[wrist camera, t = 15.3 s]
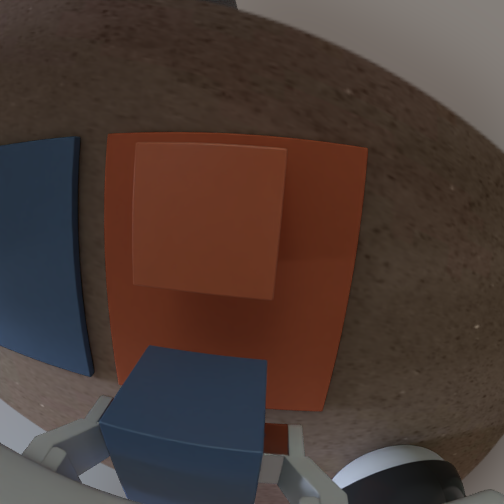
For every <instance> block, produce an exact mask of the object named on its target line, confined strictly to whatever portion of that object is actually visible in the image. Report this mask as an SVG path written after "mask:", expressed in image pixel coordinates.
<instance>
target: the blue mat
mask: <svg viewBox="0 0 504 504" xmlns="http://www.w3.org/2000/svg"><path fill="white" fill-rule="evenodd" d="M79 150H80V137H76V136H72V137H62V138H52V139H44V140H36V141H28V142H21V143H15V144H8V145H2V146H0V346H3V347H5V348H8V349H10V350H13V351H15V352H18V353H20V354H23V355H25V356H28V357H31V358H33V359H36V360H39V361H42V362H45V363H47V364H50V365H53V366H56V367H59V368H62V369H66V370H69V371H72V372H75V373H78V374H82V375H85V376H89V377H91V376H92V375H93V374H94V368H93V363H92V357H91V352H90V346H89V340H88V334H87V327H86V320H85V313H84V305H83V296H82V286H81V275H80V262H79V244H78V167H79Z"/></svg>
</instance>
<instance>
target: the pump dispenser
mask: <svg viewBox="0 0 504 504" xmlns="http://www.w3.org/2000/svg"><path fill="white" fill-rule="evenodd" d="M332 480H333V481H334V482H335V483H336V484H337V485H338V486H339V487H340V488H341V489H342V490H343V491H344V492H345V493H346V494H347V498H348V504H443V503H446V502H450V501H453V500H457V499H460V498H463V497H466V495H465V491H464V487H463V484H462V481H461V478H460V476H459V474H458V472H457V470H456V468H455V467H454V465H452V464H451V463H449V462H447V461H445V460H444V459H443V458H441V457H440V456H439V455H438V454H436V453H435V452H433V451H431V450H429V449H426V448H423V447H420V446H414V445H396V446H389V447H385V448H381V449H378V450H375V451H372V452H370V453H367V454H365V455H363V456H361V457H359V458H357V459H356V460H354V461H352V462H351V463H349V464H348V465H347V466H345V467H344V468H343V469H342V470H341V471H340V472H339V473H338V474H337V475H336V476H335V477H334V478H333V479H332Z"/></svg>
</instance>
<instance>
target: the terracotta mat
mask: <svg viewBox="0 0 504 504" xmlns="http://www.w3.org/2000/svg"><path fill="white" fill-rule="evenodd" d="M138 142H191V143H219V144H237V145H252V146H265V147H277V148H286V149H287V150H288V154H287V166H286V177H285V188H284V199H283V210H282V221H281V231H280V241H279V251H278V260H277V270H276V279H275V289H274V298H273V300H272V301H269V300H258V299H248V298H238V297H229V296H219V295H210V294H202V293H193V292H185V291H177V290H169V289H161V288H153V287H146V286H138V285H134V284H133V260H132V212H133V182H134V163H135V149H136V143H138ZM367 156H368V149H367V148H363V147H357V146H351V145H344V144H337V143H330V142H322V141H314V140H305V139H296V138H286V137H275V136H262V135H248V134H231V133H205V132H139V133H114V134H108V137H107V150H106V167H105V194H104V239H105V266H106V283H107V296H108V307H109V318H110V327H111V335H112V343H113V350H114V357H115V364H116V370H117V376H118V382H119V385H123V384H124V382H125V381H126V379H127V378H128V376H129V374H130V373H131V371H132V370H133V368H134V367H135V365H136V364H137V362H138V361H139V359H140V358H141V356H142V355H143V353H144V352H145V350H146V349H147V347H148V346H149V345H152V346H158V347H164V348H171V349H177V350H184V351H191V352H198V353H205V354H213V355H222V356H230V357H240V358H250V359H261V360H267V385H266V407H265V408H266V409H280V410H297V411H322V410H323V407H324V403H325V400H326V396H327V392H328V388H329V384H330V381H331V377H332V373H333V368H334V364H335V360H336V356H337V352H338V347H339V343H340V338H341V334H342V329H343V324H344V319H345V314H346V309H347V304H348V299H349V293H350V288H351V282H352V276H353V270H354V264H355V258H356V252H357V245H358V238H359V231H360V223H361V215H362V207H363V198H364V189H365V179H366V168H367Z"/></svg>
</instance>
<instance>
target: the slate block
mask: <svg viewBox="0 0 504 504" xmlns="http://www.w3.org/2000/svg"><path fill="white" fill-rule="evenodd" d="M266 385H267V360H261V359H250V358H240V357H230V356H222V355H213V354H205V353H198V352H191V351H184V350H177V349H171V348H164V347H158V346H152V345H149V346H148V347H147V349H146V350H145V352H144V353H143V355H142V356H141V358H140V359H139V361H138V362H137V364H136V365H135V367H134V368H133V370H132V371H131V373H130V374H129V376H128V378H127V379H126V381H125V382H124V384H123V385H122V387H121V388H120V390H119V391H118V393H117V394H116V396H115V397H114V399H113V401H112V402H111V404H110V405H109V407H108V408H107V410H106V412H105V413H104V415H103V416H102V418H101V419H100V421H99V424H100V427H101V431H102V434H103V437H104V440H105V443H106V446H107V448H108V451H109V454H110V457H111V460H112V462H113V465H114V467H115V470H116V473H117V475H118V478H119V480H120V483H121V485H122V487H123V490H124V492H125V494H126V497H127V498H128V499H129V500H133V501H136V502H140V503H144V504H254V502H255V496H256V491H257V485H258V480H259V474H260V468H261V463H262V457H263V448H264V428H265V407H266Z"/></svg>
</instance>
